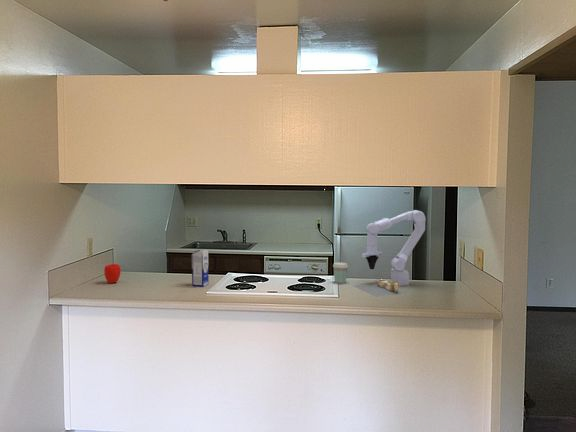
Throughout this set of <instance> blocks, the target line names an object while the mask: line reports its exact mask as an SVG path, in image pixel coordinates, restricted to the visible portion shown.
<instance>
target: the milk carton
mask: <svg viewBox="0 0 576 432" xmlns="http://www.w3.org/2000/svg"><path fill="white" fill-rule="evenodd" d="M191 278H192V279H191V287H200V288H204V287H207V286H208V285H209V282H210V280H209V249H204V250H201V251H200V249H197V250H194V253H192V254H191Z"/></svg>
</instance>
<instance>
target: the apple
mask: <svg viewBox="0 0 576 432" xmlns="http://www.w3.org/2000/svg"><path fill="white" fill-rule="evenodd" d="M121 271H122V269H121V266H120V265H119V264H117V263H112V264H107V265H105V266H104V271H103V272H104V278H105V280H106V282H107V283H108V284H109V283H111V284H115V283H117V282H118V281H119V278H120V276H121V273H122V272H121ZM114 282H115V283H114Z"/></svg>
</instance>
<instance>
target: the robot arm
mask: <svg viewBox="0 0 576 432" xmlns="http://www.w3.org/2000/svg"><path fill="white" fill-rule="evenodd" d="M426 219H427V218H426V216H425V213H424V212H423V211H421V210H418V209H413V210H410V211H405V212H403V213H401V214H399V215H396V216H393V217H392V218H388V217H382V218H381V219H380V220H378V221H376V220H375V221H373V222H371V223H368V225H367V226H366V231H367V236H366V252H363V253H361V258H365V259H366V261H367V264H368V267H369V270H375V267H376V265H377V264H376V263H377V262H378V259H379V256H383V251H378V243H379V241H378V238H379V237H378V233H379V232H381V231H385V230H387V229H390V228H392V227H391V226H392V225H394V224H397V223H399V222H404V221H411V222H413V225H414V229H413V231H412V233H411V234H410V235H409V237H408V238H407V240H406V242H405V244H404V245H403V247H402V248H401V250H400V252H398V253H397V255H396V256H395V257H393V258H392V259H391V261H390V265H391V266H392V268H391V270H390V281H395V282H397V283H399V285H398V287H401V286H403V287H404V286H409V285H410V273H409V271H408V270H407V269H405V267H406V263H407V261H408V257H409V256H410V254H411V253H412V251H413V250H414V248H415V247H416V245H417V244H418V242H419V241H420V239H421V237H422V236H423V234H424V233H425V231H426Z"/></svg>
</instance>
